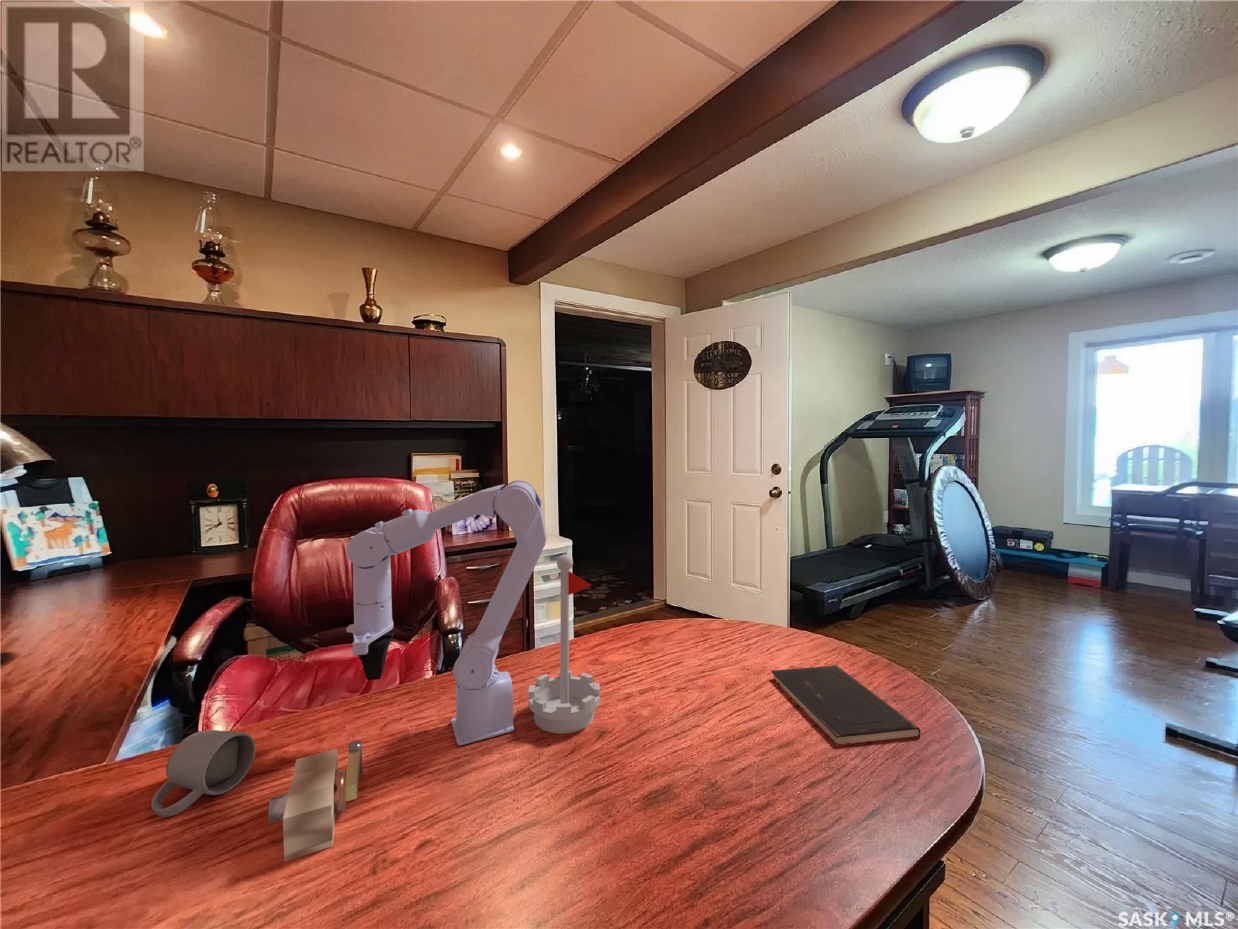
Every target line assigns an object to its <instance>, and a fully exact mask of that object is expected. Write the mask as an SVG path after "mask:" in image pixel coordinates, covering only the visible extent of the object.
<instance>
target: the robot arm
mask: <svg viewBox="0 0 1238 929" xmlns="http://www.w3.org/2000/svg"><path fill="white" fill-rule="evenodd" d="M504 486H505V487H504ZM503 487H504V488H503ZM543 512H544V510H543V504H542V499H541V498H540V496H539V494H538V492H537V491H536V489H535V487H534V486H533V485H532V484H531V483H530V482H528V481H526V480H523V479H522V480H521V479H516V480H513V481H510V482H508V484H507V485H505V484H499V485H495V486H492V487H488V488H485V489H481V490H479V491H476V492H474V493H472V494H470V495H468V496H465V497H463V498H460V499H459V500H456V501H454V502H452V503H450V504H446V505H444V506H442V507H440V508H437V509H436V510H433V511H431V512H428V511H426V510H424V509H419V508H418V509H415V510H413V509H412V508H409V509H405V510H404V511H402V512H401V515H400V516H398V517H396V518H393V519H390V520H388V521H385V522H384V521H382V520H381V521H379V522H376V523H374V526H375V527H374V526H372V527H370V528H368V529H366V530H364V531H359V533H357V534H356V535H354V536H352V537H351V539H350V540H348V543H347V545H346V556H347V558H348V561H350V562H351V563H352V574H353V575H352V583H353V584H352V586H353V587H352V588H353V589H352V590H353V623H352V624H349V625H348V626H347V627H346V633H351V634H353V641H352V643H351V647H352V656H358V658H359V660H360V663H361V665H362V668H363V672H364V676H365V679H366V680H367V681H375V680H376V681H377V680H380V679H381V678H382V676H383V673H384V669H385V664H386V659H387V654H388V650H389V647H390V644H391V642H392V639H393V637H394V635H395V631H394V630H393V628H394V621H393V607H392V606H393V604H392V600H393V599H392V568H391V566H392V565H391V563H392V562H391V556H393V555H394V556H395V555H399V554H400V553H404V552H406V551H408V550H410V549H414V548H415V547H418V546H420V545H423V544H426V543H427V542H430V541H432V540H433V539H434V535H435V533H436V532H437V530H439V529H442V528H445V527H447V526H450V525H454V524H456V523H458V522H460V521H464V520H466V519H469V518H471V517H474V516H478V515H481V516H485V517H489V518H495V516H497V515H498V517H500V519H501V520H502V521H503V522H504V523H505V524H506V525H508V527H509V528H510V530H511V532H512V534H513V536H514V538H515V540H516V546H515V548H514V549H513V552H512V554H511V556H510V558H509V560H508V563H507V564H506V567H505V569H504V571H503V573H502V575H501V577H500V579H499V582H498V583H497V586H496V588H495V590H494V592H493V595H492V596H491V599H490V600H489V603H488V605H487V607H486V609H485V612H484V613H483V616H482V617H481V620H480V622H479V624H478V626H477V628H476V629H475V631H474V632H473V633H471V634H470V635H469V636H468V637H467V638H466V639H465V641H464V643H463V647H462V650H461V652H460V653H459V656H458V657H457V659H456V660H455V662H454V665H453V667H452V668H453V669H452V674H453V678H454V680H455V717H453V718H451V720H450V723H451V727H452V730H453V733H454V737H455V741H456V744H457V746H463V745H468V744H472V743H475V742H478V741H482V740H485V739H489V738H493V737H497V736H500V735H504V734H508V733H512V732H514V730H515V726H514V691H513V690H514V689H513V682H512V678H511V675H510V673H509V671H499V670H498V668H497V667H496V664H495V662H496V658H497V656H498V654H499V649H500V643H501V640H502V637H503V635H504V633H505V631H506V629H507V627H508V625H509V623H510V621H511V618H512V616H513V615H514V612H515V610H516V607H517V606H518V603H519V601H520V599H521V597H522V595H523V592H524V591H525V588H526V587H527V584H528V582H529V580H530V577H531V576H532V574H533V571H534V570H535V568H536V565H537V563H538V561H539V559H540V556H541V555H542V553H543V550H544V548H545V546H546V544H547V530H546V523H545V518H544V513H543Z"/></svg>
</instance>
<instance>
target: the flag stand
mask: <svg viewBox="0 0 1238 929" xmlns="http://www.w3.org/2000/svg"><path fill="white" fill-rule="evenodd" d="M573 565H574V561H573V558H572V557H571V556H570V555H568V554H565V553H564V554H561V555H559V556H558V557H557V560H556V566H557V568H558V569H559V570H560V638H559V639H560V640H559V642H560V647H559V648H560V649H559V650H560V652H559V653H560V659H559V660H560V662H559V664H560V665H559V666H560V667H559V668H560V669H559V670H558V676H554V677H550V675H548V673H545V674H542V675H540V676H538V677H537V678H536V679H535V685H532V684H531V685H529V687H528V707H529V709H530V711H532V713H533V714H534V715H533V719H534V722H535V725H537V727H538V728H540V729H542V731H546V732H547V733H552V734H560V735H562V734H571V733H576V732H579V731H582V730H583V729H585V728H586V727H588V726H589V725H590V724H591V723H592V722H593V721H594V718H595V710H596V708H597V707H598V706H599V705H600V700H601V695H600V694H601V686H600V685H601V684H600V682H594V676H593V675H591V674H590V673H586V672H582V673H581V674H580V676H576V675H575V676H574V675H572V673H573V672H572V669H571V670H570V665H569V664H570V662H569V661H570V659H569V658H570V655H569V654H570V652H569V651H570V644H569V643H570V642H569V641H570V640H569V639H570V629H569V628H570V595H573V594H574V593H577V592H580V591H581V590H585V589H586V588H590V587H591V586H592V584H590V583H588V581H586V580H584V579H582V578H581V577H580V576H577V575H576V574H575V573H573V572H571V571H570V570H571V568H572V567H573Z"/></svg>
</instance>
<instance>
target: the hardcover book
mask: <svg viewBox="0 0 1238 929" xmlns="http://www.w3.org/2000/svg"><path fill="white" fill-rule="evenodd" d="M770 672H771V673H772V675H773V676H772V677H773V678H774V679H775V680H776V681H777V682H778V683H779V684H780V685H779V684H778V683H777V682H776V681H775V680H774V679H773V680H774V681H775V682H776V683H777V684H778V685H779V686H780V687H781V688H782V689H783V690H784V691H785V692H786V694H788V695H789V697H790V698H791V699H792V700H793V701H794V702H795V703H796V702H797V703H796V704H797V705H798V706H800V708H801V709H802V708H803V709H802V710H803V711H804V712H805V713H806V714H807V715H808V716H809V717H810V718H811V720H813V721H814V722H815V723H816V724H817V726H819V728H821V729H822V730H823V732H824V733H825V734H827V736H828V737H829V736H830V737H829V738H830V739H831V740H832V739H833V740H834V741H833V740H832V741H833V742H834V743H835V744H836V743H837V744H836V745H837V746H840V745H839V744H841V745H848V744H847V743H850V744H856V743H857V744H859V743H866V742H867V741H869V742H877V741H876V740H878V741H886V740H887V739H888V740H896V739H905V738H913V737H914V736H916V737H919V738H921V729H920V727H919V726H917V725H916V724H914V723H913V722H912V721H911V720H909V719H908V718H906V716H904V715H903V714H901V713H900V712H899V711H898V710H897V709H895V708H894V707H892V706H891V705H890V704H888V703H887V702H886V701H884V700H883V699H882V698H880V697H879V696H878V695H877V694H876V693H874V692H873V691H871V690H870V689H868V688H867V687H866V686H865V685H863V684H862V683H861V682H860V681H858V680H857V679H856V678H854V676H852V675H850V674H849V673H848V672H846V671H845V670H844V669H843V668H841V667H840V666H838V665H828V666H827V665H825V666H814V667H803V668H802V667H800V668H798V667H797V668H787V669H774V670H770ZM885 739H886V740H885ZM858 742H859V743H858ZM867 743H868V742H867Z"/></svg>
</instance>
